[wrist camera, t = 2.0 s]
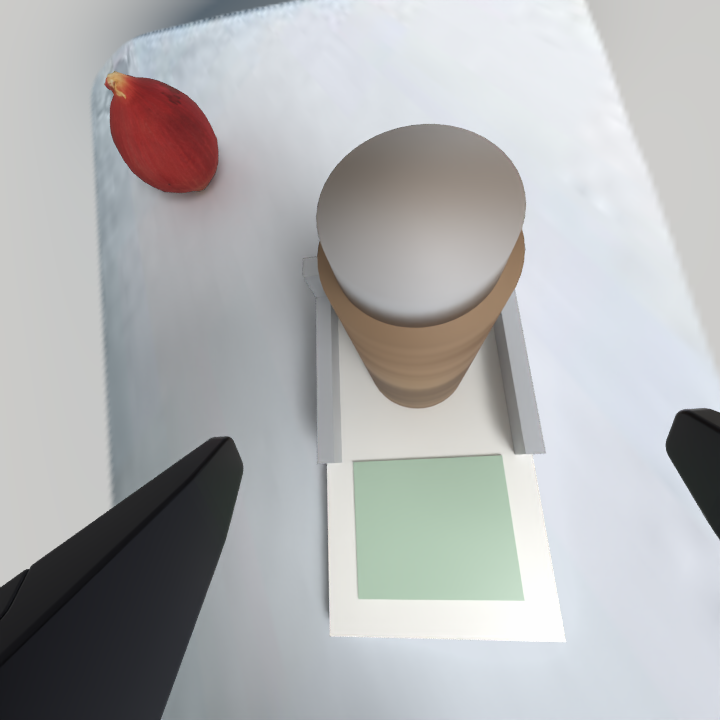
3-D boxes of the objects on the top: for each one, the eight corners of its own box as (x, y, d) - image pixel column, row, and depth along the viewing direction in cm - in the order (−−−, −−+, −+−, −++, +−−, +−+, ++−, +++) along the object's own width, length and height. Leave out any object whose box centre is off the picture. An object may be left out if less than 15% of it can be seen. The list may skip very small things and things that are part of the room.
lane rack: (556, 630, 15) (620, 709, 10) (334, 626, 17) (301, 693, 12) (496, 284, 20) (521, 229, 15) (328, 302, 21) (303, 258, 17)
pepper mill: (462, 413, 17) (550, 327, 6) (364, 403, 18) (278, 311, 7) (466, 321, 19) (547, 103, 7) (375, 315, 20) (318, 115, 8)
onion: (182, 152, 27) (90, 31, 19) (248, 155, 26) (178, 28, 18) (156, 215, 26) (45, 112, 18) (224, 222, 24) (138, 115, 17)
